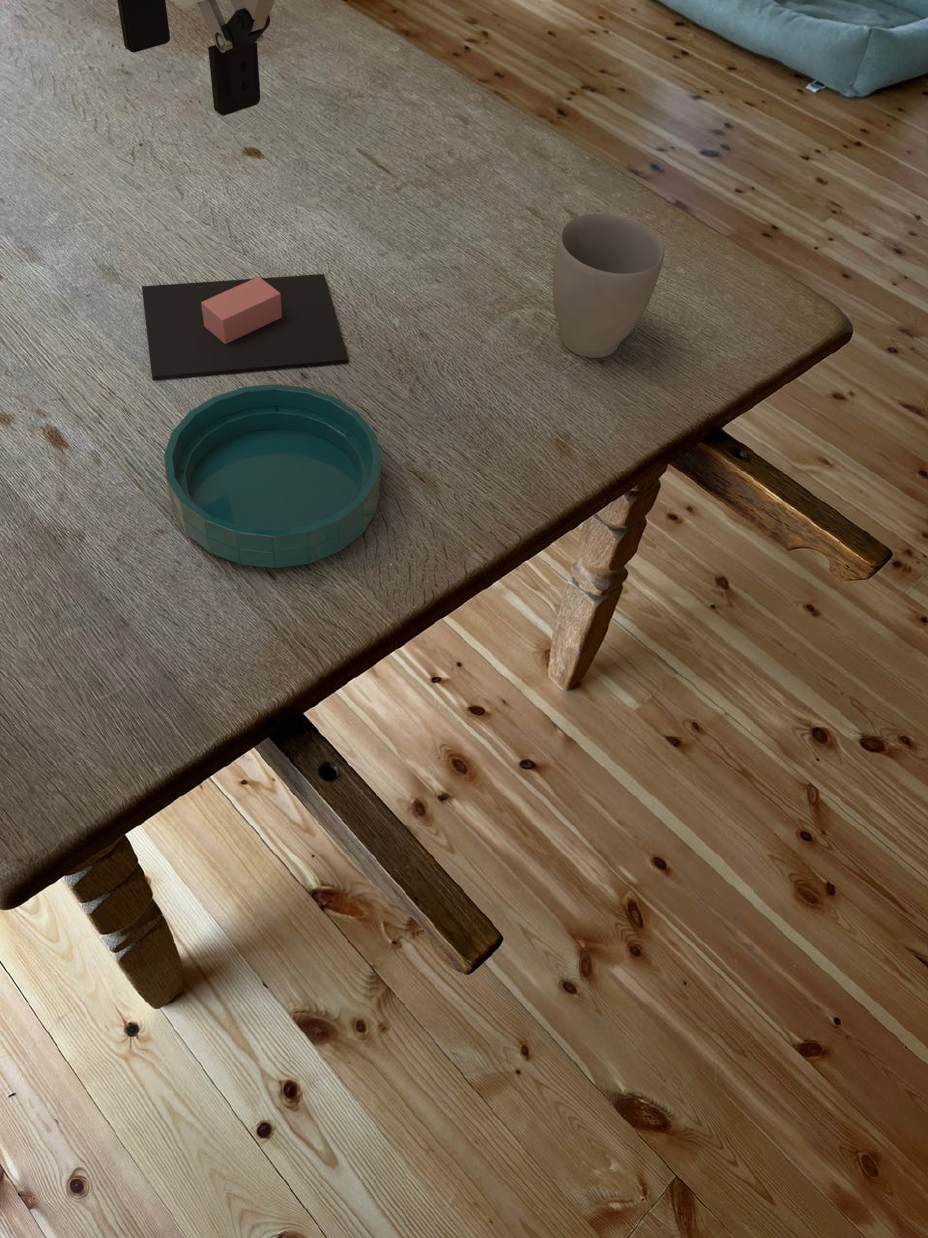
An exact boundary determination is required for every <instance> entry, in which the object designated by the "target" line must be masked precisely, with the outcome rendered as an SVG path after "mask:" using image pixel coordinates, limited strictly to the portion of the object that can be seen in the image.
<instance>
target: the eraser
mask: <svg viewBox="0 0 928 1238" xmlns="http://www.w3.org/2000/svg"><path fill="white" fill-rule="evenodd" d="M262 278H263V277H261V276H257V277H255V278H251V279H252V280H250V281H248V282H245V283H243V284H241V285H239V286H236V287H234V288H232V289H230V290H227V291H225V292H223V293H221V294H218V295H216V296H214V297H212V298H209V299H207V300H205V301H203V302H201V305H202V313H203V321H204V327H205V328H207V329H208V330H209V331H210V332H211V333H213V334H214V335H215V336H216V337H217V338H218V339H220V340H221V341H222V342H223V343H224V344H227V343H229V342H231V341H234V340H236V339H238V338H240V337H242V336H244V335H246V334H248V333H250V332H252V331H255V330H257V329H259V328H261V327H263V326H265V325H267V324H269V323H271V322H273V321H276V320H278V319H280V318H282V310H281V294H280V293H279V292H278V291H277V290H276V289H274V288H273V287H272V286H271V285H269V284H268V283H267V282H265V281H264V280H263V279H262Z"/></svg>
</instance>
